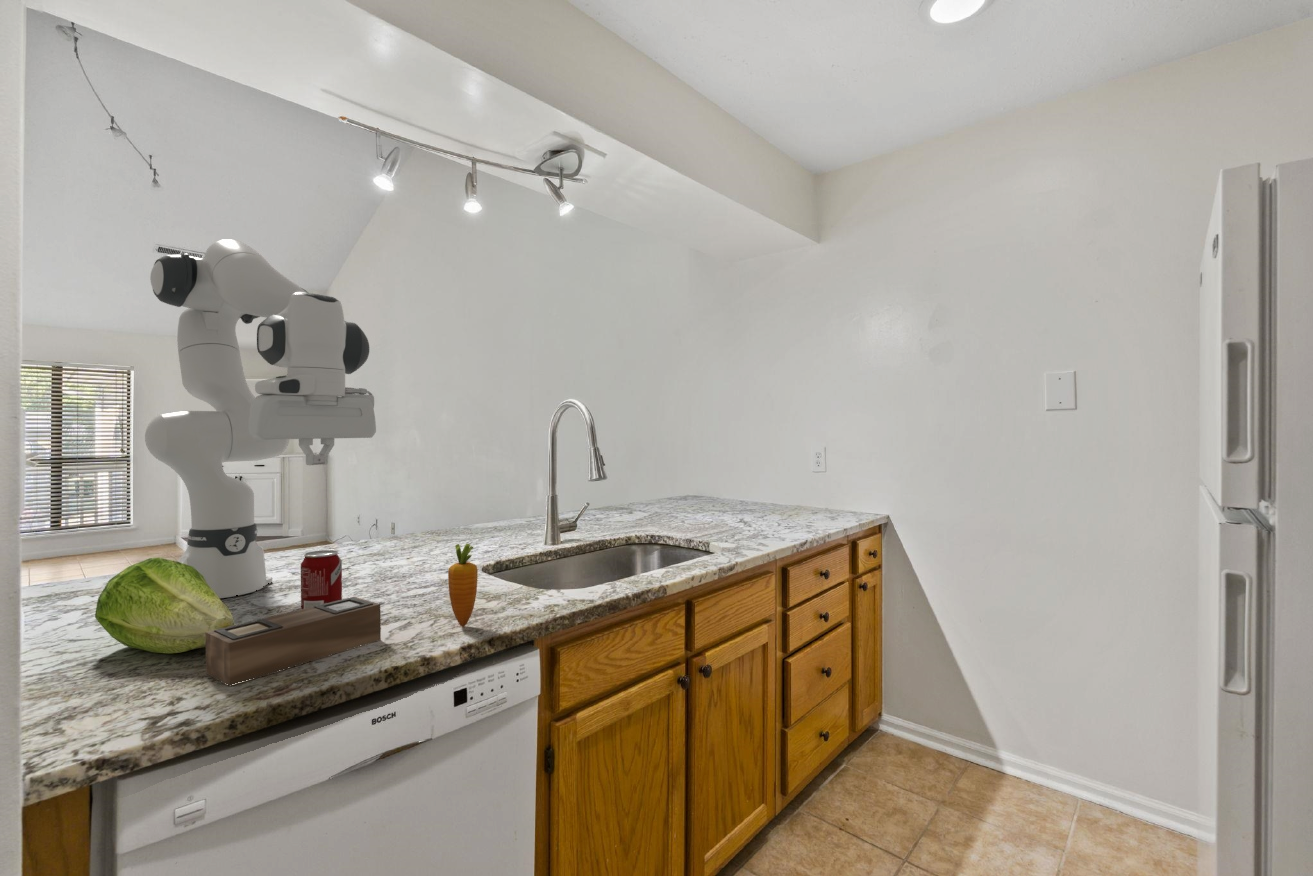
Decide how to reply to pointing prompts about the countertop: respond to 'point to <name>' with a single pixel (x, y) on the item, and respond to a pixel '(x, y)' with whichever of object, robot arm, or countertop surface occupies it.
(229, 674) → the walnut block
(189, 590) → the lettuce
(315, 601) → the soda can
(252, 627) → the maple peg
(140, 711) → the countertop surface
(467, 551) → the carrot
